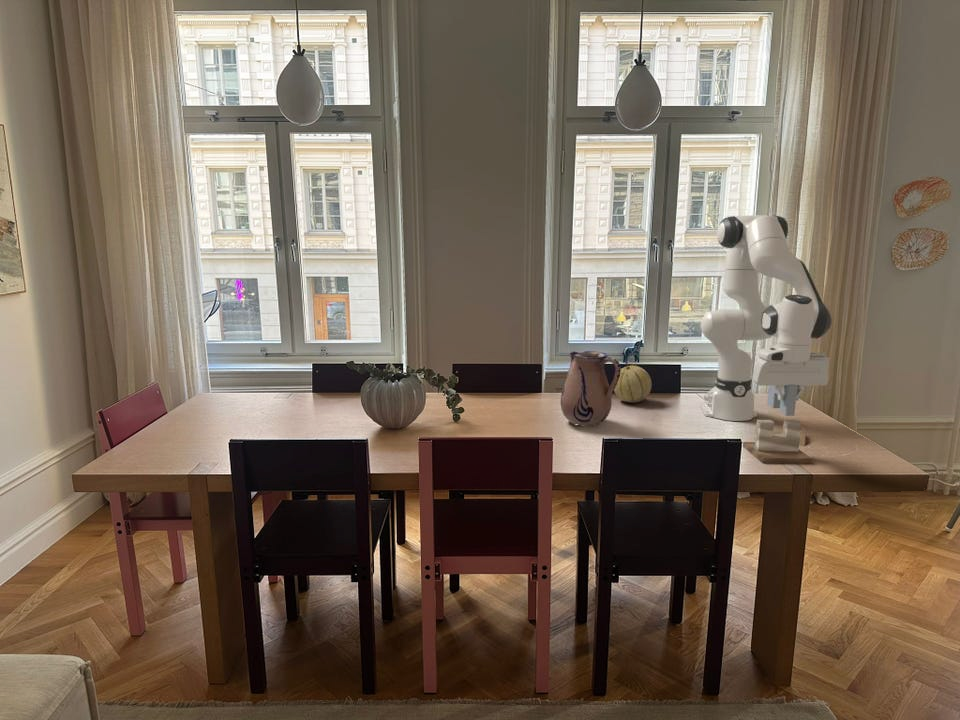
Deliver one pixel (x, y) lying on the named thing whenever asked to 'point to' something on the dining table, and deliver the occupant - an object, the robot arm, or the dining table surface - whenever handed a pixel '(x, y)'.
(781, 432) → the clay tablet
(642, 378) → the cantaloupe
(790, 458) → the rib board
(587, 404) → the ceramic pitcher
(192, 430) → the dining table surface
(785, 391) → the slotted plate
